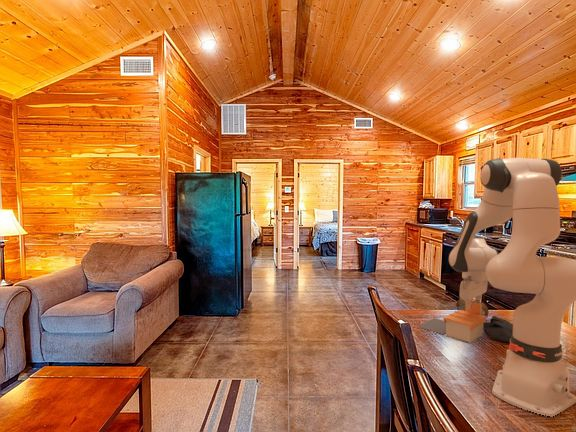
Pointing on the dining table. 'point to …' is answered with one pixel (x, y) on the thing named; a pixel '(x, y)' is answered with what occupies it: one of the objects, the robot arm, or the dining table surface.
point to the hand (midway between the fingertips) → (473, 306)
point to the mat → (435, 326)
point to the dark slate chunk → (499, 329)
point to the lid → (468, 316)
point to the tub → (463, 332)
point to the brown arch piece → (461, 302)
